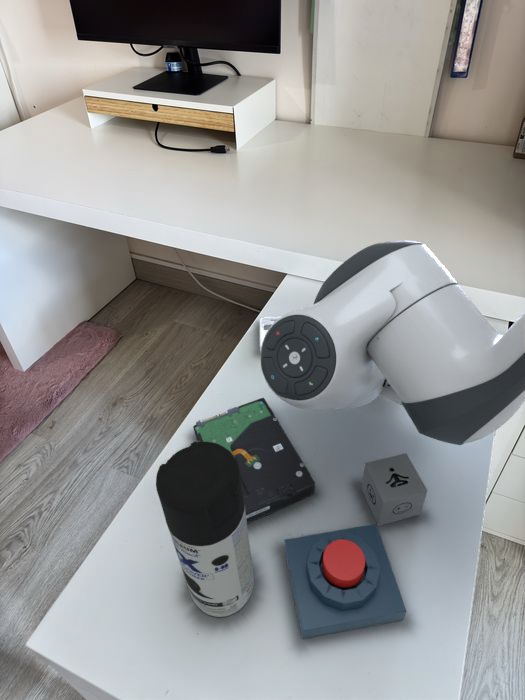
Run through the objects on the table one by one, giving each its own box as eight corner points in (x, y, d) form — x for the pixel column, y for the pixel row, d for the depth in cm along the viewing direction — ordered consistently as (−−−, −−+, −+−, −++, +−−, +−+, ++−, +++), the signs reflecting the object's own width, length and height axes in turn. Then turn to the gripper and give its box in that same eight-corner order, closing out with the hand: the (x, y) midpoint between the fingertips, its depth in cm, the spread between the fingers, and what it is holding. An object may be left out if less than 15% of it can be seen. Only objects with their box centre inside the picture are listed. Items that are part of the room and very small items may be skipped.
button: (356, 544, 51) (358, 535, 50) (369, 584, 48) (370, 576, 47) (318, 551, 51) (318, 542, 49) (328, 591, 48) (328, 583, 46)
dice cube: (378, 525, 56) (383, 502, 53) (360, 487, 60) (364, 463, 56) (419, 514, 57) (427, 490, 53) (400, 477, 60) (406, 453, 57)
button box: (374, 533, 55) (378, 515, 53) (403, 620, 49) (409, 603, 46) (284, 549, 55) (284, 531, 52) (302, 639, 48) (302, 623, 45)
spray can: (177, 582, 52) (136, 473, 39) (227, 539, 56) (205, 425, 42) (217, 633, 49) (186, 532, 35) (268, 584, 52) (258, 474, 38)
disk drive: (316, 495, 59) (264, 408, 69) (317, 482, 57) (263, 394, 67) (235, 531, 56) (192, 435, 66) (233, 519, 55) (190, 422, 64)
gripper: (452, 373, 50) (459, 377, 63) (275, 312, 59) (313, 326, 71) (430, 432, 51) (441, 424, 63) (257, 363, 59) (298, 368, 72)
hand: (372, 372), depth 67 cm, fingers closed on lever, 3 cm apart
